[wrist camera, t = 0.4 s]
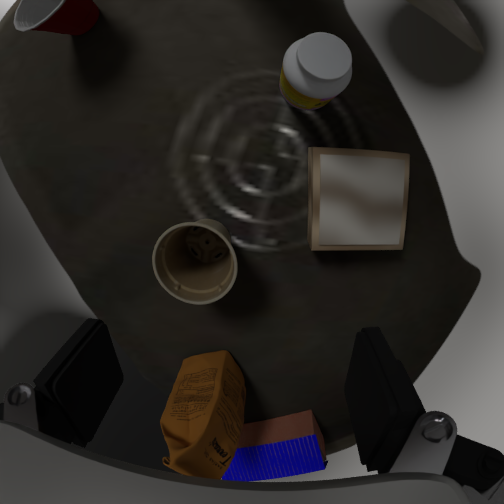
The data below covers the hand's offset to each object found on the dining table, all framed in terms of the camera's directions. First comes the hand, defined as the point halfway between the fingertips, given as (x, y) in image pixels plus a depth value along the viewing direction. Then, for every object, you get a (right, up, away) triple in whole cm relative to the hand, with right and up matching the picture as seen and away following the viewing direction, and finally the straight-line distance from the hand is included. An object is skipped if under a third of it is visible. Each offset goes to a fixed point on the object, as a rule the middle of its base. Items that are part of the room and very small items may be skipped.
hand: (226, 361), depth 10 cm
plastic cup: (-25, +40, +18) cm, 50 cm away
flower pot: (-5, +5, +29) cm, 30 cm away
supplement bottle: (+8, +24, +22) cm, 33 cm away
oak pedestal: (+14, +11, +26) cm, 31 cm away
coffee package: (-5, -17, +37) cm, 41 cm away
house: (+5, -34, +43) cm, 55 cm away
